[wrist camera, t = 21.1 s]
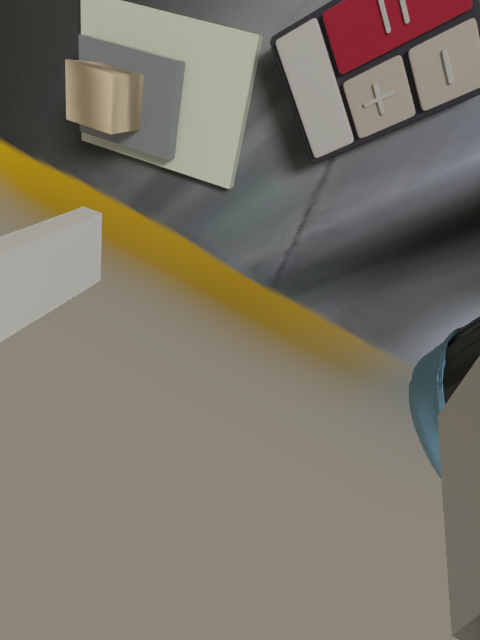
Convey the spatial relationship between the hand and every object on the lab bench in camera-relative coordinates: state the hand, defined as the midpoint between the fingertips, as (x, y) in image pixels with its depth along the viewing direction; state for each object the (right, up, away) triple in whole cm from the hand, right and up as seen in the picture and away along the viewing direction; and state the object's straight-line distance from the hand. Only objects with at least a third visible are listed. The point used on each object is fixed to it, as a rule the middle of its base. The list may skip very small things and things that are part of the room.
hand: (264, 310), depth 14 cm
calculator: (+11, +22, +22) cm, 33 cm away
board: (-9, +23, +29) cm, 39 cm away
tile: (-7, +21, +27) cm, 35 cm away
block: (-13, +22, +28) cm, 38 cm away
